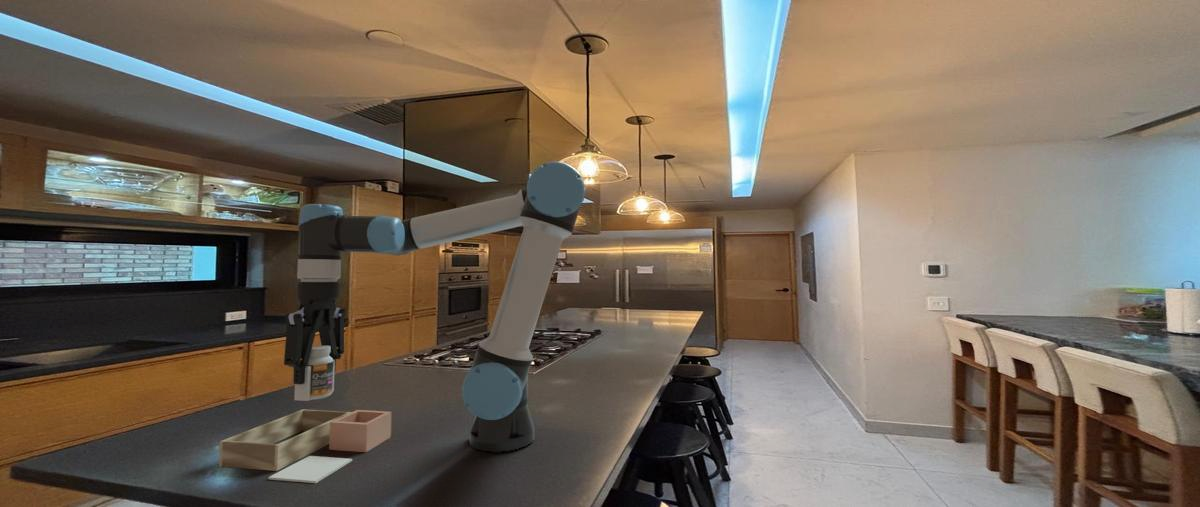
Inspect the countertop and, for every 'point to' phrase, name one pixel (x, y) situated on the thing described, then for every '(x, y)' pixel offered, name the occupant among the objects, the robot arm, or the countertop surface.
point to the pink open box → (360, 430)
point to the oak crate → (259, 442)
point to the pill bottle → (321, 372)
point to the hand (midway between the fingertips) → (314, 395)
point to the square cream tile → (310, 469)
